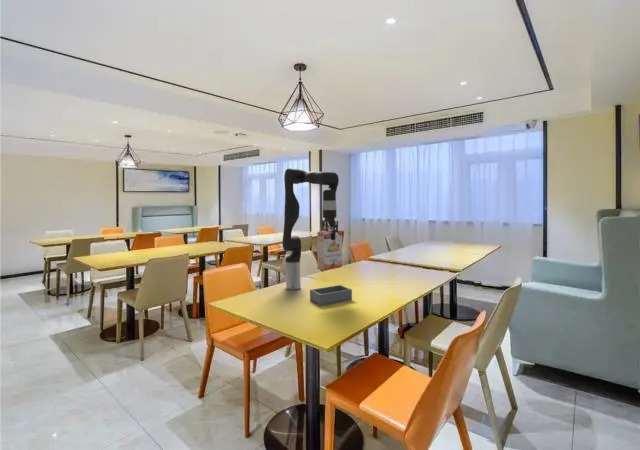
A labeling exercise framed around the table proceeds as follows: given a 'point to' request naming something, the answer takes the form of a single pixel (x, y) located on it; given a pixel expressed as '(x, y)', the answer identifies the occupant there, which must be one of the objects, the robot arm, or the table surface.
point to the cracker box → (329, 250)
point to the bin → (330, 295)
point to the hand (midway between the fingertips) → (329, 239)
